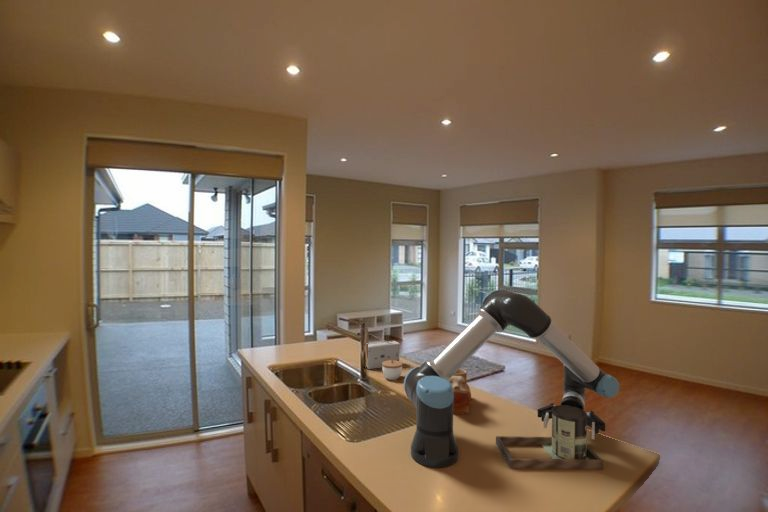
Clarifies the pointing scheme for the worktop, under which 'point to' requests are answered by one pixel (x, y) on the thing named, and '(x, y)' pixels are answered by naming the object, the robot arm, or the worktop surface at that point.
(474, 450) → the worktop surface
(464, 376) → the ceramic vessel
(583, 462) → the wooden serving tray
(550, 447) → the pad
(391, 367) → the lidded jar
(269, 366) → the worktop surface
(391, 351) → the stereo radio cassette player
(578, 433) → the coffee can
